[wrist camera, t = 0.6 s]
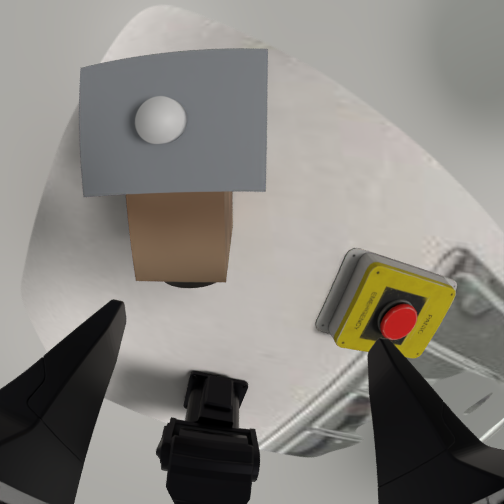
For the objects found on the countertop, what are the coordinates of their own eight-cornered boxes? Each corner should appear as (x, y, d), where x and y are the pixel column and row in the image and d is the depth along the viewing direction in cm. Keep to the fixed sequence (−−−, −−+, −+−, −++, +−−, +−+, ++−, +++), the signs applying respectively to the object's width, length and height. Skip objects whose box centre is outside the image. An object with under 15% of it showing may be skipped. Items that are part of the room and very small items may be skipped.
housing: (256, 166, 24) (267, 196, 12) (149, 168, 24) (71, 202, 12) (257, 87, 22) (269, 41, 10) (148, 92, 22) (68, 64, 10)
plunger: (232, 244, 26) (226, 306, 17) (174, 244, 26) (140, 304, 17) (232, 166, 24) (224, 187, 15) (170, 168, 24) (125, 190, 14)
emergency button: (364, 262, 23) (478, 298, 25) (348, 243, 27) (456, 279, 29) (320, 353, 26) (435, 368, 28) (311, 326, 31) (419, 346, 32)
